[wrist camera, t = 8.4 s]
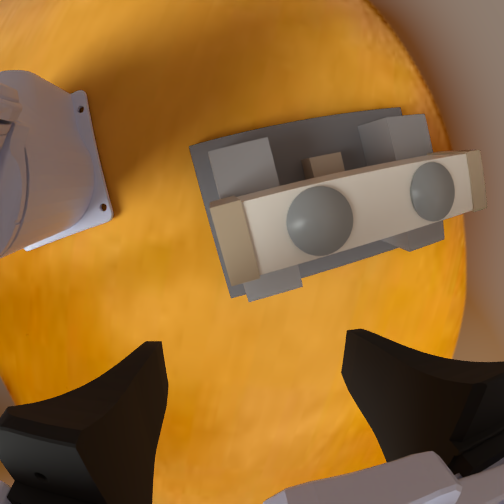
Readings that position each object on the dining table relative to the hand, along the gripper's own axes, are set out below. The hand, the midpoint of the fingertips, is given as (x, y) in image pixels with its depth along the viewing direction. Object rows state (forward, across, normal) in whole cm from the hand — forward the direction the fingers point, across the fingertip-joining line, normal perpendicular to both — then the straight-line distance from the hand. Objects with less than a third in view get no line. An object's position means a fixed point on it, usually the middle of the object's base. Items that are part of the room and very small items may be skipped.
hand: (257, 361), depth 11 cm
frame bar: (+5, -6, -6) cm, 10 cm away
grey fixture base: (+10, -6, -6) cm, 13 cm away
